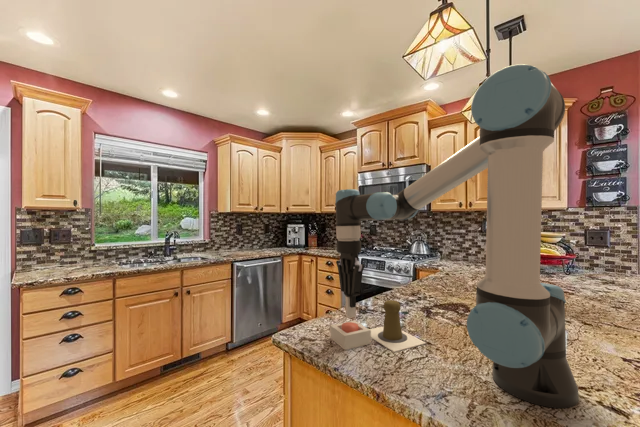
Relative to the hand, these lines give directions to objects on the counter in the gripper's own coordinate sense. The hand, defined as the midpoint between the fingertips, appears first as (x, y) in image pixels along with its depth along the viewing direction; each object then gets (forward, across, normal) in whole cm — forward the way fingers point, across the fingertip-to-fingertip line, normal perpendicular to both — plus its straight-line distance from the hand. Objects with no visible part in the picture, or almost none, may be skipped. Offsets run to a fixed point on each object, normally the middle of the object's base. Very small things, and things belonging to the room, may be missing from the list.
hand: (350, 316), depth 87 cm
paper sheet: (+8, -3, -13) cm, 15 cm away
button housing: (+7, +1, 0) cm, 7 cm away
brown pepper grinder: (+7, -3, -13) cm, 15 cm away
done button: (+6, +1, 0) cm, 6 cm away
